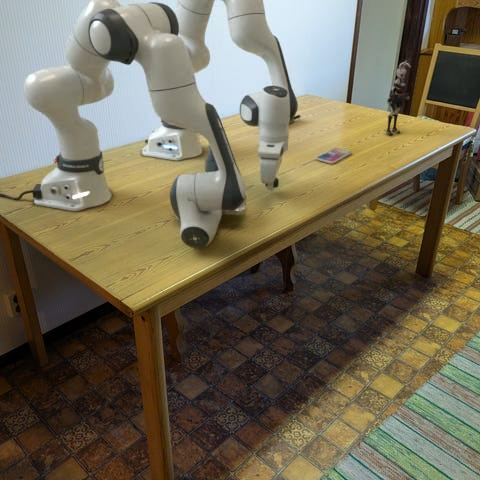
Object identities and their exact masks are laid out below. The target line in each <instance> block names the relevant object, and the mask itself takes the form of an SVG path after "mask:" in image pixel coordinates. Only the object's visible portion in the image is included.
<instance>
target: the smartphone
mask: <svg viewBox="0 0 480 480" xmlns="http://www.w3.org/2000/svg"><path fill="white" fill-rule="evenodd" d="M351 154H352V152H351V151H350V150H346V149H343V148H340V147H334V148H332V149H330V150H328V151H326V152H324V153H322V154H320V155H318V156H316V158H315V159H316V160H317V161H320V162H323V163H325V164H330V165H332V164H336V163H338V162H339V161H341V160H343V159H344V158H346V157H348V156H350V155H351Z"/></svg>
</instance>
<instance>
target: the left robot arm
mask: <svg viewBox="0 0 480 480" xmlns="http://www.w3.org/2000/svg"><path fill="white" fill-rule="evenodd" d="M64 55H65V59H66V61H67V63H68V64H64V65H59V66H53V67H47V68H42V69H40V70H36V71H35V72H32V73H30V74H28V75H27V76H26V77H25V79H24V84H23V94H24V98H25V99H26V101H27V103H28V105H30V106H31V108H33V109H34V110H36V111H37V112H39V113H41V114H43V116H45V117H46V119H48V120H49V121H50V123H51V124H52V126H53V128H54V130H55V132H56V136H57V141H58V145H59V151H60V152H59V154H58V155H56V156H55V158H53V164H57V166H56V167H54V168H53V169H52V170H51V171H50V172H49V173H48V174H46V175H45V176H44V177H43V179H42V181H41V183H36V184H35V185H34V187H33V189H30V190H26V191H23V192H20V194H19V196H17V197H12V196H10V195H7V194H4V193H1V192H0V197H4V198H6V199H9V200H12V201H19V200H21V199H22V198H23V196H24V195H27V194H32V198H33V199H34V200H33V201H34V205H36V206H42V207H46V208H47V207H48V208H54V209H59V210H65V211H70V212H71V211H72V212H80V211H83V210H85V209H89V208H94V207H98V206H101V205H103V204H105V203H107V202H109V201H110V200H111V198H112V192H111V190H110V188H109V185H108V183H107V179H106V174H105V162H104V156H103V152H102V151H101V146H100V138H99V130H98V127H97V126H96V125H95V123H94V122H92V121H91V120H89V119H86V118H84V117H82V116H81V115H80V112H79V107H81V106H87V105H90V104H94V103H95V104H96V103H98V102H100V101H102V100H104V99H106V98H108V97H110V96H111V95H112V94H113V92H114V89H115V79H114V76H113V73H112V71H111V69H110V68H109V65H110V63H111V62H117V63H120V64H123V65H127V66H131V64H132V63H133V62H136V63H138V64H139V65H140V66H141V68H142V69H143V72H144V76H145V81H146V86H147V91H148V96H149V100H150V103H151V104H150V105H151V106H152V109H153V111H154V113H155V114H156V116H157V117H158V118H160V120H161V119H162V120H163V121H165V122H167V123H169V124H171V125H173V126H176V127H180V128H185V129H189V130H192V131H195V132H197V133H198V135H201V136H202V137H204V139H206V140H207V142H208V144H209V145H210V147H211V150H212V152H213V155H214V158H215V161H216V163H217V166H218V169H219V170H218V171H213V172H205V171H204V172H193V173H192V172H191V173H185V174H179V175H177V177H175V179H174V181H173V183H172V184H171V186H170V190H169V201H170V206H171V209H172V212H173V213H174V215H175V217H176V219H177V220H178V221H180V230H179V236H180V239H181V241H182V243H183V244H184V245H185V246H187V247H189V248H192V249H203V248H206V247H207V246H208V245H210V244H211V242H212V241H213V240H214V238H215V236H216V233H217V231H218V228H219V224H220V223H221V220H222V216H223V215H240V214H242V213H245V212H246V210H247V203H248V202H247V201H248V196H247V195H248V194H247V187H246V183H245V180H244V178H243V176H242V174H241V171H240V169H239V167H238V164H237V162H236V159H235V156H234V153H233V150H232V147H231V145H230V142H229V139H228V136H227V134H226V131H225V128H224V124H223V123H222V119H221V117H220V115H219V113H218V111H217V109H216V107H215V106H214V105H213V104H211V103H209V102H207V101H206V100H205V98H203V96H202V95H201V93H200V91H199V90H200V89H199V87H198V84H197V79H196V75H195V73H194V70H193V66H192V63H191V60H190V57H189V54H188V51H187V48H186V46H185V43H184V41H183V40H182V39H181V38H180V37H179V24H178V20H177V17H176V15H175V10H173V9H172V8H171V7H170V6H169V5H168V4H165V3H161V2H156V1H150V2H147V3H146V2H136V3H129V4H125V5H122V4H121V3H120V2H119V1H117V0H90V1H89V2H88V3H87V4H86V5H85V7H84V8H83V9H82V11H81V12H80V14H79V15H78V17H77V19H76V21H75V22H74V25H73V27H72V29H71V31H70V33H69V36H68V38H67V40H66V43H65V45H64Z"/></svg>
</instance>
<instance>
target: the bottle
mask: <svg viewBox="0 0 480 480" xmlns="http://www.w3.org/2000/svg"><path fill="white" fill-rule="evenodd" d="M218 170H219V169H218V166H217V163H216V161H215V158H214V155H213V152H212V150H211V147H210V144H209V145H208V154H207V156H206V157H205V159H204V172H213V171H218Z"/></svg>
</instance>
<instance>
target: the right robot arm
mask: <svg viewBox="0 0 480 480" xmlns="http://www.w3.org/2000/svg"><path fill="white" fill-rule="evenodd" d="M215 1H216V0H177V3H176V7H175V10H174V13H175V15H176V17H177V20H178V24H179V34H178V36H179V37H180V38H181V39H182V40H183V41H184V43H185V46H186V48H187V51H188V54H189V57H190V60H191V63H192V66H193V70H194V74H197V73H200V72H201V71H203V70H205V69H206V68H208V66H209V64H210V62H211V53H210V50H209V48H208V46H207V44H206V40H205V39H206V31H207V28H208V23H209V21H210V17H211V14H212V12H213V11H212V9H213V7H214V3H215ZM221 1H222V2H223V3H224V6H225V8H226V17H227V18H226V19H227V24H228V32H229V35H230V38H231V40H232V42H233V43H234V45H236V47H238V48H239V49H241V50H243V51H245V52H247V53H250V54H252V55H255V56H257V57H259V58H261V59H262V60H263V61H264V62H265V64H266V66H267V69H268V73H269V76H270V80H271V84H272V85H267V86H264V87H263V88H262V89H261V90H260V91H258V92H254V93H249V94H246V95H245V96H243V98H242V99H241V101H240V104H239V116H240V119H241V120H242V122H243V123H245V125H246V126H250V127H257V128H258V129H259V131H258V151H257V157H258V158H259V167H260V168H259V169H260V171H259V173H260V181H261V183H262V184H264V185H265V184H267V187H266V189H267V191H273V190H274V189H275V188H274V180H275V178H277V175H278V172H279V170H280V167H281V165H282V162H283V156H284V155H285V153H286V152H287V151H288V150H289V141H290V140H289V136H290V130H289V124H288V123H289V122H290V121H291V120H292V119H293V118H294V117H295V116H296V115H297V112H298V108H299V105H298V99H297V97H296V94H295V92H294V89H293V87H292V83H291V80H290V75H289V73H288V72H289V71H288V68H287V64H286V60H285V57H284V52H283V49H282V46H281V43H280V41H279V39H278V38H277V36H275V35H274V34H273V32H272V31H271V29H270V27H269V25H268V22H267V18H266V10H265V5H264V0H221ZM160 123H161V125H159V127H157V128H156V129H155V130H152V132H151V133H150V135H149V136H148V139H145V140H144V142H145V143H147V145H145V146H144V147H143V148H142V150H141V155H142V156H145V157H152V158H157V159H164V160H170V161H176V162H178V161H182V160H185V159H190V158H191V159H192V158H196V157H198V156H200V155H202V153H203V149H202V148H203V147H202V145H201V142H200V134H199V133H197V132H195V131H192V130H189V129H185V128H180V127H176V126H173V125H171V124H169V123H167V122H165V121H163V120H162V119H161V118H160Z"/></svg>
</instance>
